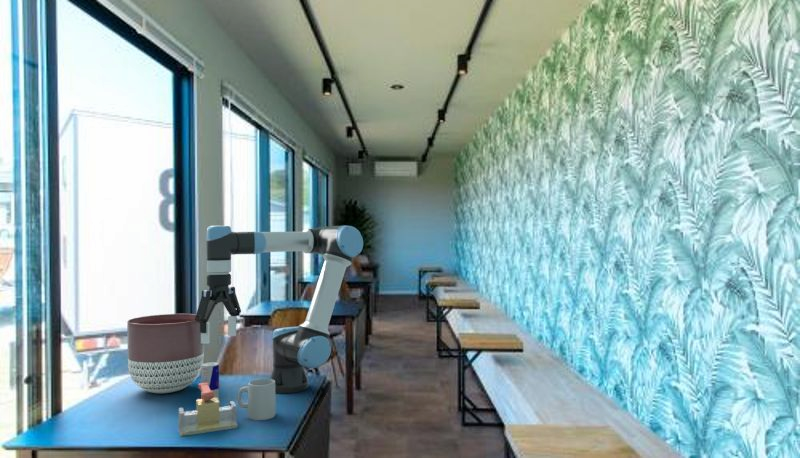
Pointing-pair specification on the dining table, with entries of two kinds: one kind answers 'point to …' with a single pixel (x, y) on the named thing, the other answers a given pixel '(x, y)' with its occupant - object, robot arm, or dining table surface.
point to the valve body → (207, 417)
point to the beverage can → (211, 376)
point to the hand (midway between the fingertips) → (219, 339)
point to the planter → (164, 351)
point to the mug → (259, 399)
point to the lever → (206, 391)
